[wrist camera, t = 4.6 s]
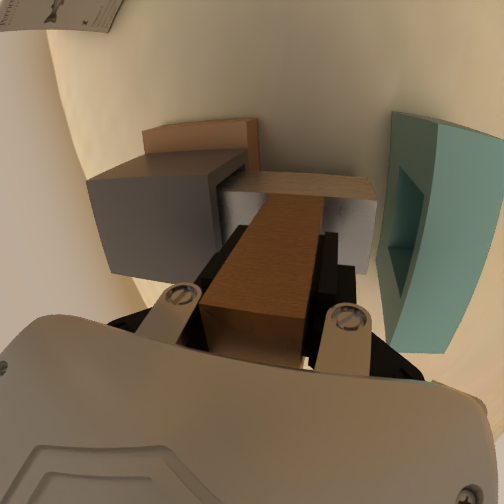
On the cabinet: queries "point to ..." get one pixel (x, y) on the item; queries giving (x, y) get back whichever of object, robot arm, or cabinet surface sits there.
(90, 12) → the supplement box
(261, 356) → the multicoloured piece
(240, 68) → the cabinet surface
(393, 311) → the socket
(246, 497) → the robot arm
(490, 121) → the cabinet surface
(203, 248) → the grey block with backplate
